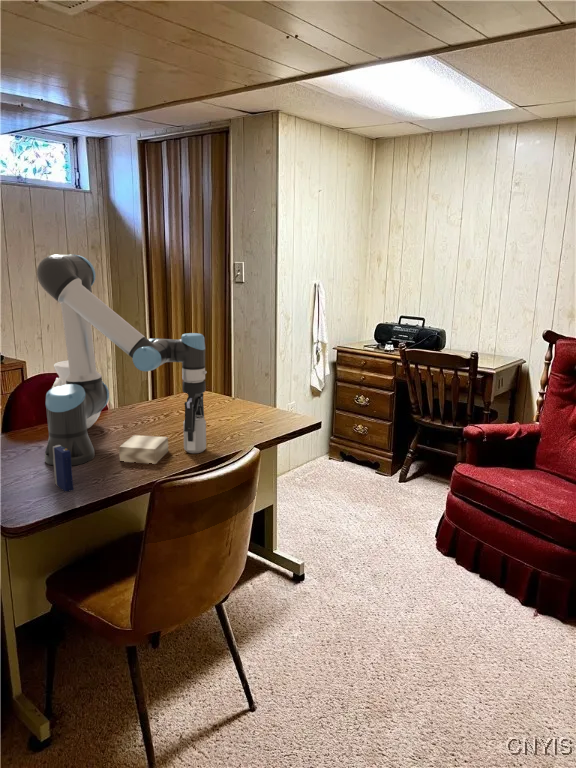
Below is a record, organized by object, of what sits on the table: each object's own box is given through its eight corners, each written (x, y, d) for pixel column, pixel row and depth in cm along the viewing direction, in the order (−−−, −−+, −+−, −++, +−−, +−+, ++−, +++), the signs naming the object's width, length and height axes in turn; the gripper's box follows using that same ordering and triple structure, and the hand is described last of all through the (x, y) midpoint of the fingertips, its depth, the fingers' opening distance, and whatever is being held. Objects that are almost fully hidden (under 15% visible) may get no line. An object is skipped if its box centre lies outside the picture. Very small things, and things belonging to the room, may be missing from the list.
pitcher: (46, 424, 220) (41, 361, 214) (94, 417, 231) (90, 356, 225) (60, 437, 205) (54, 369, 200) (110, 428, 216) (106, 364, 210)
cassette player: (73, 490, 161) (70, 450, 158) (65, 492, 159) (62, 452, 157) (62, 482, 166) (59, 443, 163) (54, 484, 165) (51, 445, 162)
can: (208, 447, 197) (208, 414, 194) (203, 454, 190) (202, 420, 187) (187, 446, 198) (186, 413, 195) (181, 453, 190) (180, 419, 188)
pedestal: (119, 461, 183) (119, 446, 182) (134, 449, 195) (133, 435, 193) (155, 463, 181) (155, 449, 180) (168, 451, 193) (167, 437, 192)
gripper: (195, 387, 178) (197, 456, 183) (213, 374, 198) (213, 437, 203) (172, 386, 179) (174, 455, 184) (192, 373, 198) (193, 435, 204)
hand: (195, 445), depth 193 cm, fingers closed on can, 7 cm apart
